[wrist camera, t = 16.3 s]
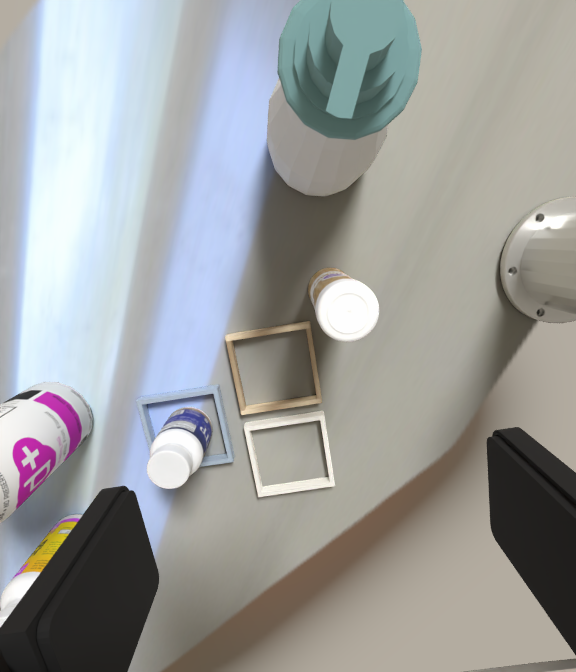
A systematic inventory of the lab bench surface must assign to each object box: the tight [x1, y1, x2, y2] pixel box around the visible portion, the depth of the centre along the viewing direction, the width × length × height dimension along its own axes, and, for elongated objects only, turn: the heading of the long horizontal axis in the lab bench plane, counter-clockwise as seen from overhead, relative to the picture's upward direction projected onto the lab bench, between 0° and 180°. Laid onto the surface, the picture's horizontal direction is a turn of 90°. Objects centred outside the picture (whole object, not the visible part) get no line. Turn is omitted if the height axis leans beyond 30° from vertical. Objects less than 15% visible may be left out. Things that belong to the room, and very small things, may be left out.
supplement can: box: [0, 382, 93, 523], centre depth 37 cm, size 8×8×15 cm
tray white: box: [244, 411, 335, 497], centre depth 45 cm, size 9×9×1 cm
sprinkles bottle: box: [308, 268, 379, 342], centre depth 35 cm, size 5×5×13 cm
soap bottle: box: [267, 0, 422, 196], centre depth 27 cm, size 10×10×23 cm
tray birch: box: [225, 321, 322, 415], centre depth 43 cm, size 9×9×1 cm
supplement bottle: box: [0, 514, 82, 627], centre depth 42 cm, size 7×7×13 cm
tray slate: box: [136, 385, 234, 467], centre depth 44 cm, size 9×9×1 cm
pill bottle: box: [147, 407, 213, 489], centre depth 41 cm, size 5×5×9 cm
